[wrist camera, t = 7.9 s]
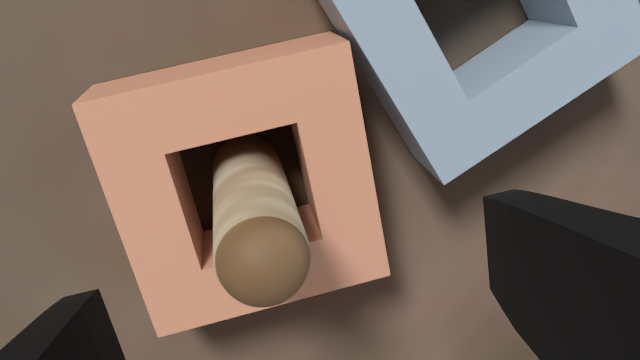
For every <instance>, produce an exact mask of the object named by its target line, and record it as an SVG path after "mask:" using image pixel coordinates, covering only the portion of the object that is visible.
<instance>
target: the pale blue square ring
mask: <svg viewBox="0 0 640 360" xmlns="http://www.w3.org/2000/svg"><path fill="white" fill-rule="evenodd" d="M318 2H319V3H320V5H321V6H322V8H323V10H324V11H325V13H326V15H327V16H328V18H329V20H330V21H331V23H332V24H333V26H334V28H335V29H336V31H337V33H338V34H339V36H341V37H343V38H345V39H347V40H348V41H350V46H351V52H352V57H353V59H354V60H355V62H356V63H357V65H358V67H359V68H360V70H361V72H362V73H363V75H364V76H365V78H366V80H367V81H368V83H369V85H370V86H371V88H372V89H373V91H374V93H375V94H376V96H377V98H378V99H379V101H380V102H381V104H382V106H383V107H384V109H385V111H386V112H387V114H388V115H389V117H390V119H391V120H392V122H393V124H394V125H395V127H396V128H397V130H398V132H399V133H400V135H401V137H402V138H403V140H404V141H405V143H406V145H407V146H408V148H409V150H410V151H411V153H412V154H413V156H414V158H415V159H416V160H418V161H419V162H420V163H421V164H422V165H423V166H424V167H425V168H426V169H427V170H428V171H429V172H430V173H431V174H432V175H433V176H435V177H436V178H437V179H438V180H439V181H440V182H441V183H442V184H443V185H445V184H447V183H448V182H450V181H451V180H453V179H454V178H456V177H457V176H459V175H460V174H462V173H463V172H465V171H466V170H468V169H469V168H471V167H472V166H474V165H475V164H477V163H478V162H480V161H481V160H483V159H484V158H486V157H487V156H489V155H490V154H492V153H493V152H495V151H496V150H498V149H499V148H501V147H502V146H504V145H505V144H507V143H508V142H510V141H511V140H513V139H514V138H516V137H517V136H519V135H520V134H522V133H523V132H525V131H526V130H528V129H529V128H531V127H532V126H534V125H535V124H537V123H538V122H540V121H541V120H543V119H544V118H546V117H547V116H549V115H550V114H552V113H553V112H555V111H556V110H558V109H559V108H561V107H562V106H564V105H565V104H567V103H568V102H570V101H571V100H573V99H574V98H576V97H577V96H579V95H580V94H582V93H583V92H585V91H586V90H588V89H589V88H591V87H592V86H594V85H595V84H597V83H598V82H600V81H601V80H603V79H604V78H606V77H607V76H609V75H610V74H612V73H613V72H615V71H616V70H618V69H619V68H621V67H622V66H624V65H625V64H627V63H628V62H630V61H631V60H633V59H634V58H636V57H637V56H639V55H640V5H639V2H638V0H520V2H521V4H522V7H523V9H524V11H525V13H526V15H527V17H528V20H527V21H526V22H524V23H523V24H521V25H520V26H519V27H517V28H516V29H514V30H513V31H511V32H510V33H508V34H507V35H505V36H504V37H502V38H501V39H499V40H498V41H496V42H495V43H493V44H492V45H491V46H489V47H488V48H486V49H485V50H483V51H482V52H480V53H479V54H477V55H476V56H474V57H473V58H471V59H470V60H468V61H467V62H465V63H464V64H463V65H461V66H460V67H458V68H457V69H455V70H454V71H452V69H451V67H450V66H449V64H448V62H447V60H446V58H445V56H444V55H443V53H442V51H441V49H440V47H439V45H438V43H437V42H436V40H435V38H434V36H433V34H432V32H431V31H430V29H429V27H428V25H427V23H426V21H425V19H424V18H423V16H422V14H421V12H420V10H419V8H418V7H417V5H416V3H415V1H414V0H318Z"/></svg>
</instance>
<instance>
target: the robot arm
mask: <svg viewBox="0 0 640 360" xmlns="http://www.w3.org/2000/svg"><path fill="white" fill-rule="evenodd" d="M483 204H484V217H485V230H486V243H487V256H488V269H489V281H490V289H491V291H492V293H493V294H494V296H495V298H496V300H497V301H498V303H499V305H500V306H501V308H502V310H503V311H504V313H505V314H506V316H507V317H508V319H509V321H510V322H511V324H512V325H513V327H514V328H515V330H516V331H517V332H518V334H519V335H520V336H521V337H522V339H523V340H524V341H525V342H526V343H527V345H528V346H529V347H530V348H531V350H532V351H533V352H534V353H535V354H536V356H537V357H538V358H539V359H540V360H640V218H637V217H633V216H628V215H624V214H620V213H615V212H611V211H607V210H603V209H599V208H595V207H591V206H587V205H583V204H579V203H575V202H572V201H568V200H564V199H560V198H556V197H552V196H547V195H543V194H539V193H534V192H529V191H523V190H514V189H513V190H509V191H505V192H501V193H497V194H492V195H488V196H484V197H483ZM0 360H125V357H124V354H123V352H122V349H121V346H120V344H119V341H118V338H117V336H116V333H115V331H114V328H113V325H112V323H111V320H110V317H109V315H108V312H107V309H106V307H105V304H104V301H103V299H102V296H101V294H100V291H99V289H96V290H92V291H88V292H83V293H79V294H75V295H71V296H67V297H64V298H62V299H61V300H59V301H58V302H56V303H55V304H53V305H52V306H51V307H50V308H48V309H47V310H46V311H45V312H43V313H42V314H41V315H40V316H39V317H38V318H36V319H35V320H34V321H33V322H32V323H31V324H29V325H28V326H27V327H26V328H25V329H24V330H23V331H21V332H20V333H19V334H18V335H17V336H16V337H15V338H14V339H12V340H11V341H10V342H9V343H8V344H7V345H6V346H4V347H3V348H2V349H1V350H0Z"/></svg>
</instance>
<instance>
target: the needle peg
mask: <svg viewBox="0 0 640 360" xmlns="http://www.w3.org/2000/svg"><path fill="white" fill-rule="evenodd" d="M310 264H311V247H310V244H309V241H308V238H307V235H306V232H305V229H304V226H303V224H302V221H301V218H300V215H299V212H298V209H297V207H296V204H295V201H294V198H293V195H292V192H291V189H290V187H289V184H288V181H287V178H286V175H285V172H284V170H283V167H282V164H281V161H280V158H279V155H278V153H277V151H276V150H275V148H274V147H273V146H272V144H270V143H269V142H268V141H267V140H265V139H263V138H261V137H258V136H255V135H244V136H239V137H235V138H231V139H229V140H228V141H226V142H225V143H224V144H223V145H222V146H221V147H220V148H219V149H218V151H217V153H216V155H215V158H214V161H213V267H214V271H215V274H216V277H217V279H218V280H219V282H220V283H221V285H222V286H223V288H224V289H225V290H226V291H227V292H228V294H230V295H231V296H232V297H233V298H234V299H236V300H237V301H239V302H241V303H243V304H245V305H248V306H252V307H271V306H275V305H278V304H281V303H283V302H285V301H287V300H288V299H290V298H291V297H292V296H294V295H295V294H296V293H297V292H298V290H299V289H300V288H301V287H302V285H303V283H304V282H305V279H306V277H307V274H308V271H309V268H310Z"/></svg>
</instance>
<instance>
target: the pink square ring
mask: <svg viewBox="0 0 640 360" xmlns="http://www.w3.org/2000/svg"><path fill="white" fill-rule="evenodd" d="M72 107H73V110H74V113H75V116H76V118H77V121H78V124H79V126H80V129H81V132H82V134H83V137H84V140H85V142H86V145H87V148H88V151H89V153H90V156H91V159H92V161H93V164H94V167H95V169H96V172H97V175H98V177H99V180H100V183H101V186H102V188H103V191H104V194H105V196H106V199H107V202H108V204H109V207H110V210H111V213H112V215H113V218H114V221H115V223H116V226H117V229H118V231H119V234H120V237H121V239H122V242H123V245H124V248H125V250H126V253H127V256H128V258H129V261H130V264H131V266H132V269H133V272H134V274H135V277H136V280H137V283H138V285H139V288H140V291H141V293H142V296H143V299H144V301H145V304H146V307H147V310H148V312H149V315H150V318H151V320H152V323H153V326H154V328H155V331H156V334H157V336H158V338H159V337H163V336H167V335H170V334H174V333H178V332H182V331H185V330H189V329H193V328H196V327H200V326H204V325H208V324H211V323H215V322H219V321H223V320H226V319H230V318H234V317H237V316H241V315H245V314H249V313H252V312H256V311H260V310H264V309H267V308H271V307H275V306H278V305H282V304H286V303H290V302H293V301H297V300H301V299H305V298H308V297H312V296H316V295H319V294H323V293H327V292H331V291H334V290H338V289H342V288H346V287H349V286H353V285H357V284H360V283H364V282H368V281H372V280H375V279H379V278H383V277H387V276H390V270H389V264H388V258H387V252H386V247H385V241H384V235H383V230H382V224H381V218H380V212H379V207H378V201H377V195H376V189H375V184H374V178H373V172H372V166H371V161H370V155H369V149H368V144H367V138H366V132H365V126H364V121H363V115H362V109H361V103H360V98H359V92H358V86H357V80H356V75H355V69H354V63H353V57H352V52H351V46H350V41H348V40H347V39H345V38H343V37H341V36H339V35H337V34H335V33H333V32H331V31H328V32H324V33H319V34H315V35H311V36H306V37H302V38H297V39H293V40H288V41H284V42H280V43H275V44H271V45H266V46H262V47H258V48H253V49H249V50H244V51H240V52H235V53H231V54H227V55H222V56H218V57H213V58H209V59H205V60H200V61H196V62H191V63H187V64H182V65H178V66H174V67H169V68H165V69H160V70H156V71H152V72H147V73H143V74H138V75H134V76H129V77H125V78H121V79H116V80H112V81H107V82H103V83H99V84H94V85H92V86H91V87H90V88H89V89H88V90H87V91H86V92H85V93H84V94H83V95H82V96H80V97H79V98H78V99H77V100H76V101H75V102H74V103H73V104H72ZM289 124H291V128H292V132H293V137H294V141H295V145H296V150H297V154H298V159H299V163H300V168H301V172H302V177H303V181H304V185H305V190H306V194H307V199H308V203H309V204H307V205H303V206H299V207H297V209H298V212H299V215H300V218H301V221H302V224H303V226H304V229H305V232H306V235H307V238H308V241H309V244H310V247H311V264H310V268H309V271H308V274H307V277H306V279H305V282H304V283H303V285H302V287H301V288H300V289H299V290H298V292H297V293H296V294H295V295H294V296H292V297H291V298H290V299H288V300H287V301H285V302H283V303H281V304H278V305H275V306H271V307H252V306H248V305H245V304H243V303H241V302H239V301H237V300H236V299H234V298H233V297H232V296H231V295H230V294H228V292H227V291H226V290H225V289H224V288H223V286H222V285H221V283H220V282H219V280H218V279H217V277H216V274H215V271H214V267H213V228H212V229H208V230H204V231H203V228H202V225H201V221H200V218H199V215H198V212H197V208H196V205H195V202H194V199H193V195H192V192H191V189H190V186H189V182H188V179H187V176H186V173H185V169H184V166H183V163H182V160H181V156H180V153H179V151H181V150H185V149H189V148H194V147H198V146H202V145H206V144H210V143H214V142H219V141H223V140H227V139H231V138H235V137H239V136H244V135H248V134H252V133H256V132H260V131H264V130H269V129H273V128H277V127H281V126H285V125H289Z"/></svg>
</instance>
